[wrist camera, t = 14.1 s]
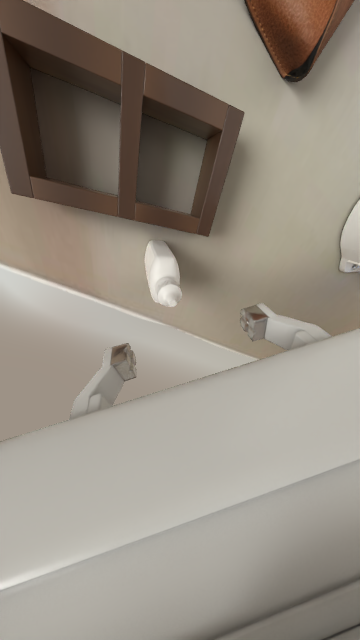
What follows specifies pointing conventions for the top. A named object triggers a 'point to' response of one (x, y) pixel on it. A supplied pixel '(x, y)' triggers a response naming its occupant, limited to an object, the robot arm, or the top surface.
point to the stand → (135, 98)
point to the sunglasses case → (296, 31)
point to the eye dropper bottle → (162, 273)
